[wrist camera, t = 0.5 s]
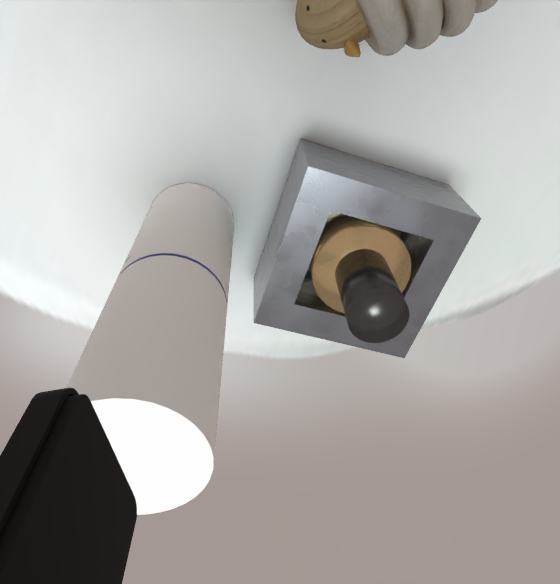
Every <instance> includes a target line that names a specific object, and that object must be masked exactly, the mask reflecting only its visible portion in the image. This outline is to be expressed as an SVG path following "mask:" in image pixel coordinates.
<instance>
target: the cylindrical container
mask: <svg viewBox="0 0 560 584" xmlns="http://www.w3.org/2000/svg"><path fill="white" fill-rule="evenodd" d="M233 232H234V220H233V215H232V212H231V210H230V207H229V206H228V204H227V203H226V201H225V200H224V199H223V198H222V197H221V196H220V195H219V194H218V193H216V192H215V191H214V190H212V189H210V188H208V187H206V186H203V185H199V184H194V183H183V184H177V185H174V186H171V187H169V188H167V189H165V190H164V191H162V192H161V193H160V194H159V195H158V196H157V197H156V199H155V200H154V201H153V203H152V205H151V207H150V209H149V212H148V214H147V216H146V218H145V220H144V222H143V224H142V226H141V229H140V231H139V233H138V235H137V237H136V239H135V241H134V244H133V246H132V248H131V250H130V252H129V254H128V256H127V259H126V261H125V263H124V265H123V267H122V269H121V271H120V274H119V276H118V278H117V280H116V282H115V284H114V286H113V289H112V291H111V293H110V295H109V297H108V299H107V302H106V304H105V306H104V308H103V310H102V312H101V314H100V317H99V319H98V321H97V323H96V325H95V327H94V329H93V332H92V334H91V336H90V338H89V340H88V343H87V345H86V347H85V349H84V351H83V353H82V355H81V358H80V360H79V362H78V364H77V366H76V368H75V370H74V373H73V375H72V377H71V379H70V381H69V384H68V385H67V388H74V389H75V390H76V391H77V392H78V394H79V395H80V394H85V395H87V396H88V397H89V399H90V401H91V403H92V405H93V407H94V410H95V412H96V414H97V416H98V418H99V420H100V423H101V425H102V427H103V429H104V431H105V433H106V436H107V438H108V440H109V442H110V444H111V446H112V449H113V451H114V453H115V455H116V457H117V459H118V462H119V464H120V466H121V468H122V470H123V472H124V474H125V477H126V479H127V481H128V483H129V485H130V487H131V490H132V492H133V494H134V496H135V499H136V504H137V514H140V515H143V514H152V513H159V512H163V511H167V510H171V509H174V508H176V507H178V506H181V505H183V504H185V503H186V502H188V501H190V500H191V499H193V498H194V497H196V496H197V495H198V494H199V493H200V492H201V491H202V490H203V489H204V487H205V486H206V484H207V483H208V481H209V480H210V477H211V474H212V471H213V465H214V453H215V442H216V431H217V430H216V429H217V419H218V408H219V396H220V385H221V373H222V361H223V349H224V338H225V326H226V314H227V302H228V291H229V279H230V268H231V256H232V244H233Z"/></svg>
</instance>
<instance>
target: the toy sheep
mask: <svg viewBox="0 0 560 584" xmlns="http://www.w3.org/2000/svg"><path fill="white" fill-rule="evenodd" d="M497 1H498V0H298V1H297V5H296V13H295V14H296V24H297V28H298V31H299V33H300V34H301V36H302V38H303V39H304V40H305V41H306V42H308V43H309V44H311V45H313V46H315V47H318V48H322V49H338V48H343V47H345V49H344V50H345V54H346V55H348V56H351V57H360V49H359V44H358V42H361V41H363V40H364V39H365V40H366V42H367V43H368V44H369V46H370V47H371V48H372V49H373V50H374V51H375V52H377V53H378V54H381V55H387V56H388V55H393V54H395V53H397V52H398V51H399V50H401V48H402V47H403V46H404V45H405V44H406V45H408V46H410V47H412V48H415V49H423V48H425V47H427V46H429V45H431V44H432V43H433V42H434V41H435V40H436V39H437V38H438V36H439V35H442V36H447V37H452V36H456V35H459V34H461V33H462V32H464V31H465V30H466V29H467V28H468V26H469V25H470V23H471V21H472V19H473V16H474V13H479V12H483V11H486V10H488V9H489V8H491V7H492V6H493V5H494V4H495V3H496V2H497Z"/></svg>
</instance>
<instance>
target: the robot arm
mask: <svg viewBox="0 0 560 584" xmlns="http://www.w3.org/2000/svg"><path fill="white" fill-rule="evenodd" d="M136 517H137V504H136V499H135V496H134V494H133V492H132V490H131V487H130V485H129V483H128V481H127V479H126V477H125V474H124V472H123V470H122V468H121V466H120V464H119V462H118V459H117V457H116V455H115V453H114V451H113V449H112V446H111V444H110V442H109V440H108V438H107V436H106V433H105V431H104V429H103V427H102V425H101V423H100V420H99V418H98V416H97V414H96V412H95V410H94V407H93V405H92V403H91V401H90V399H89V397H88V396H87V395H85V394H80V395H79V394H78V392H77V391H76V390H75V389H74V388H64V389H59V390H53V391H48V392H41V393H38V394H36V395H35V396H34V397H33V399H32V400H31V402H30V404H29V406H28V407H27V409H26V411H25V413H24V414H23V416H22V418H21V420H20V422H19V423H18V425H17V427H16V429H15V431H14V432H13V434H12V436H11V438H10V439H9V441H8V443H7V445H6V447H5V449H4V451H3V452H2V454H1V455H0V584H122V580H123V576H124V571H125V567H126V562H127V558H128V553H129V549H130V545H131V540H132V536H133V532H134V527H135V523H136Z"/></svg>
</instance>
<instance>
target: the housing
mask: <svg viewBox="0 0 560 584" xmlns="http://www.w3.org/2000/svg"><path fill="white" fill-rule="evenodd" d="M330 210H331V211H334V212H337V213H341V214H344V215H348V216H351V217H355V218H358V219H362V220H365V221H369V222H372V223H376V224H379V225H383V226H386V227H390V228H393V229H396V231H397V232H398V234H399V236H400V238H401V239H402V241H403V243H404V245H405V246H406V248H407V250H408V252H409V255H410V259H411V274H410V278H409V281H408V283H407V285H406V287H405V289H404V290H403V292H402V295H403V297H404V299H405V301H406V303H407V305H408V308H409V320H408V323H407V325H406V327H405V328H404V330H403V331H402V332H401V333H400V334H399V335H397V336H396V337H394V338H393V339H391V340H388V341H386V342H381V343H368V342H364V341H361V340H359V339H358V338H356V337H355V336H354V335H353V334H352V333H351V331H350V329H349V327H348V323H347V319H346V316H345V313H342V312H339V311H337V310H334V309H332V308H331V307H329V306H328V305H326V304H325V303H324V302H323V301H322V300H321V299H320V297H319V296H318V294H317V293H316V290H315V288H314V285H313V280H312V275H311V270H310V265H309V264H310V262H311V259H312V257H313V254H314V251H315V249H316V246H317V244H318V241H319V239H320V236H321V233H322V231H323V228H324V226H325V223H326V220H327V218H328V215H329V213H330ZM480 220H481V218H480V217H479V216H478V215H477V214H476V213H475V211H474V210H473V209H472V208H471V207H470V206H469V205H468V204H467V203H466V202H465V201H464V200H463V199H462V198H461V197H460V196H459V195H458V194H457V193H456V192H455V191H454V190H453V189H452V188H451V187H450V186H449V185H447V184H444V183H441V182H438V181H434V180H431V179H428V178H425V177H422V176H418V175H415V174H412V173H409V172H406V171H402V170H399V169H396V168H393V167H389V166H386V165H383V164H380V163H377V162H373V161H370V160H367V159H364V158H361V157H357V156H354V155H351V154H348V153H345V152H341V151H338V150H335V149H332V148H328V147H325V146H322V145H319V144H316V143H312V142H309V141H306V140H303V139H300V141H299V144H298V147H297V150H296V153H295V156H294V159H293V162H292V165H291V168H290V171H289V174H288V177H287V180H286V183H285V186H284V189H283V192H282V195H281V198H280V201H279V204H278V207H277V210H276V213H275V216H274V219H273V222H272V225H271V228H270V231H269V234H268V237H267V240H266V243H265V246H264V249H263V252H262V255H261V258H260V262H259V265H258V268H257V271H256V274H255V277H254V323H257V324H261V325H266V326H270V327H274V328H278V329H283V330H287V331H291V332H295V333H300V334H304V335H308V336H313V337H317V338H321V339H325V340H330V341H334V342H338V343H342V344H347V345H351V346H355V347H359V348H364V349H368V350H372V351H376V352H381V353H385V354H389V355H393V356H398V357H402V358H405V356H406V354H407V352H408V351H409V349H410V347H411V345H412V343H413V341H414V340H415V338H416V336H417V334H418V332H419V331H420V329H421V327H422V325H423V323H424V321H425V320H426V318H427V316H428V314H429V312H430V311H431V309H432V307H433V305H434V303H435V301H436V300H437V298H438V296H439V294H440V292H441V291H442V289H443V287H444V285H445V283H446V281H447V280H448V278H449V276H450V274H451V272H452V271H453V269H454V267H455V265H456V263H457V261H458V260H459V258H460V256H461V254H462V252H463V251H464V249H465V247H466V245H467V243H468V241H469V240H470V238H471V236H472V234H473V232H474V230H475V229H476V227H477V225H478V223H479V221H480Z"/></svg>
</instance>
